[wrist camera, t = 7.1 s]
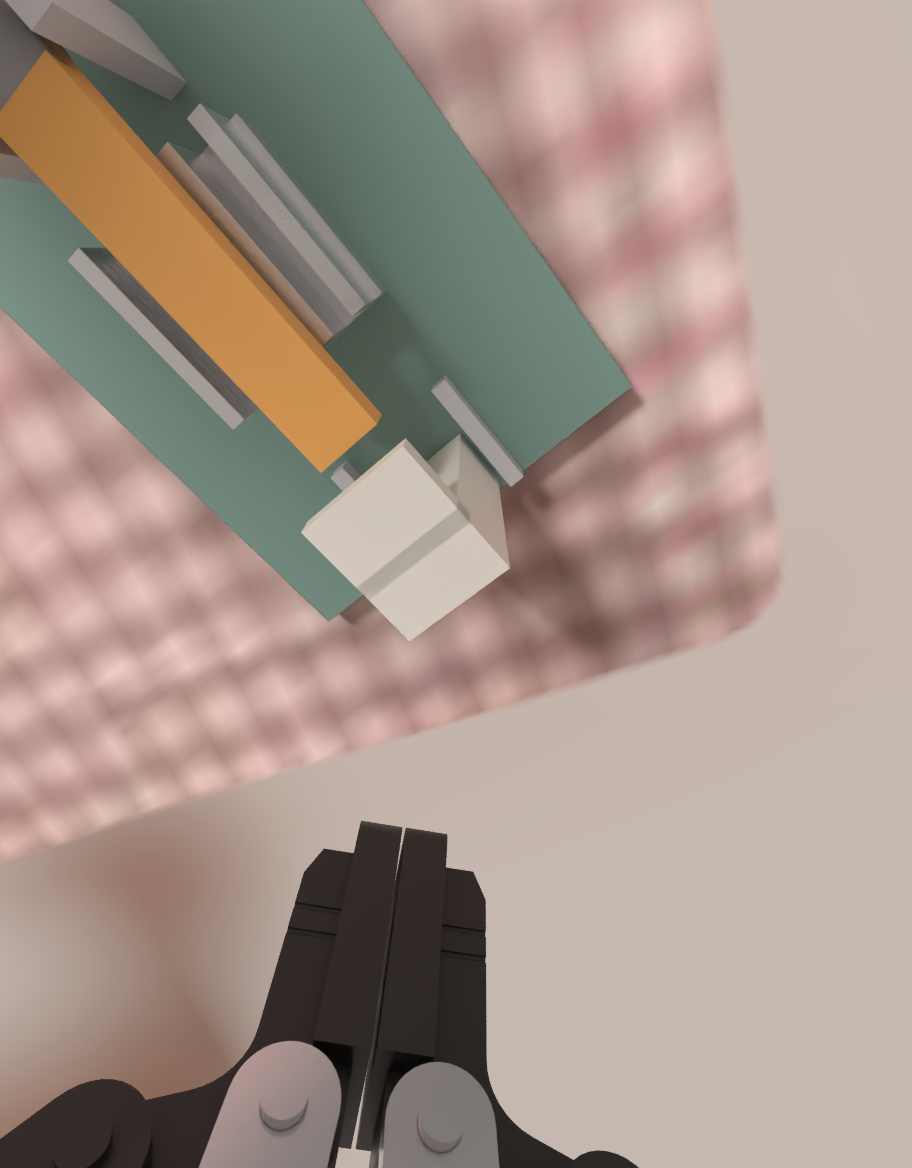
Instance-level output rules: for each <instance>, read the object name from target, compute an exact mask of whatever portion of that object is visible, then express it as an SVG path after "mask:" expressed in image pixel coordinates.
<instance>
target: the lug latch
mask: <svg viewBox="0 0 912 1168" xmlns="http://www.w3.org/2000/svg"><path fill="white" fill-rule="evenodd" d="M301 533H302V534H303V535H304V536H305V537H306V538H307V539H308V540H309V541H310V542H311V543H312V544H313V545H314V546H315V547H316V548H317V549H318V550H319V551H320V552H321V553H322V554H323V555H324V556H325V557H326V558H327V559H328V560H329V561H330V562H331V563H332V564H333V565H334V566H335V567H336V568H337V569H338V570H339V571H340V572H341V573H342V574H343V575H344V576H345V577H346V578H347V579H348V580H349V581H350V582H351V583H352V584H353V585H354V586H355V587H356V588H357V589H358V590H359V591H360V592H361V593H362V594H363V595H364V596H365V597H366V598H367V599H368V600H369V601H370V602H371V603H372V604H373V605H374V606H375V607H376V608H377V609H378V610H379V611H380V612H381V613H382V614H383V615H384V616H385V617H386V618H387V619H388V620H389V621H390V622H391V623H392V624H393V625H394V626H395V627H396V628H397V629H398V630H399V631H400V632H401V633H402V634H403V635H404V636H405V637H406V638H407V639H408V640H409V641H411V640H412V639H413V638H415V637H416V636H417V635H419V634H420V633H422V632H423V631H424V630H426V629H427V628H429V627H430V626H431V625H433V624H434V623H435V622H437V621H438V620H440V619H441V618H442V617H444V616H445V615H446V614H448V613H449V612H451V611H452V610H453V609H455V608H456V607H457V606H459V605H460V604H462V603H463V602H464V601H466V600H467V599H468V598H470V597H471V596H473V595H474V594H475V593H477V592H478V591H479V590H481V589H482V588H484V587H485V586H486V585H488V584H489V583H490V582H492V581H493V580H495V579H496V578H497V577H499V576H500V575H501V574H503V573H504V572H506V571H507V570H508V569H510V564H509V557H508V549H507V542H506V534H505V527H504V520H503V512H502V505H501V497H500V490H499V482H498V478H497V477H496V475H495V474H494V473H493V472H492V471H491V469H490V468H489V467H488V466H487V465H486V463H485V462H484V461H483V460H482V459H481V457H480V456H479V455H478V454H477V453H476V451H475V450H474V449H473V448H472V447H471V445H470V444H469V443H468V442H467V441H466V439H465V438H464V437H463V436H462V435H461V433H460V434H459V435H458V436H456V437H455V438H454V439H453V440H451V441H450V442H449V443H448V444H447V445H445V446H444V447H443V448H442V449H441V450H439V451H438V452H437V453H436V454H435V455H433V456H432V457H431V458H430V459H428V460H427V461H425V460H424V459H423V457H422V456H421V455H420V454H419V453H418V452H417V451H416V449H415V448H414V447H413V446H412V445H411V444H410V443H409V441H408V440H407V439H406V438H405V439H404V440H403V441H402V442H401V443H399V444H398V445H397V446H396V447H395V448H394V449H392V450H391V451H390V452H389V453H388V454H386V455H385V456H384V457H383V458H382V459H381V460H379V461H378V462H377V463H376V464H375V465H373V466H372V467H371V468H370V469H369V470H368V471H366V472H365V473H364V474H363V475H362V476H361V477H359V478H358V479H357V480H356V481H355V482H353V483H352V484H351V485H350V486H349V487H348V488H346V489H345V490H344V491H343V492H342V493H340V494H339V495H338V496H337V497H336V498H335V499H333V500H332V501H331V502H330V503H329V504H328V505H326V506H325V507H324V508H323V509H322V510H320V511H319V512H318V513H317V514H316V515H315V516H313V517H312V518H311V519H310V520H309V521H307V523H306V525H305V527H304V528H303V530H302V532H301Z"/></svg>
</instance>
